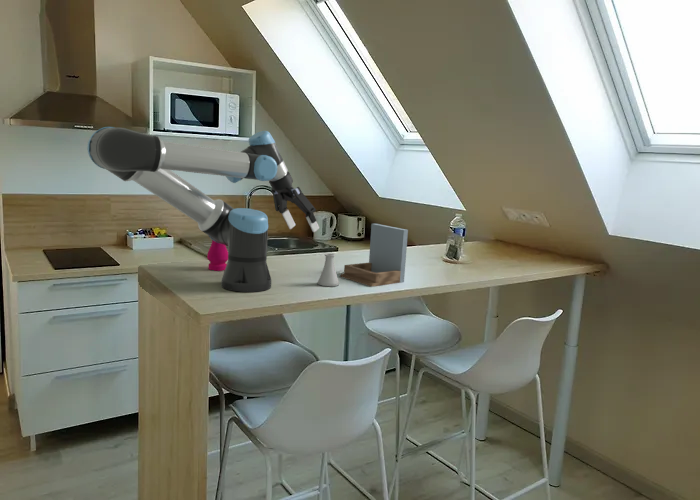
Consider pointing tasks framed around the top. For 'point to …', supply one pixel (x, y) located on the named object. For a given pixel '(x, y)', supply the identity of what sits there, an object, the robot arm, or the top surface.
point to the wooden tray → (369, 275)
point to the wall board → (388, 249)
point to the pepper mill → (217, 256)
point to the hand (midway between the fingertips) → (304, 228)
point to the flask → (328, 272)
